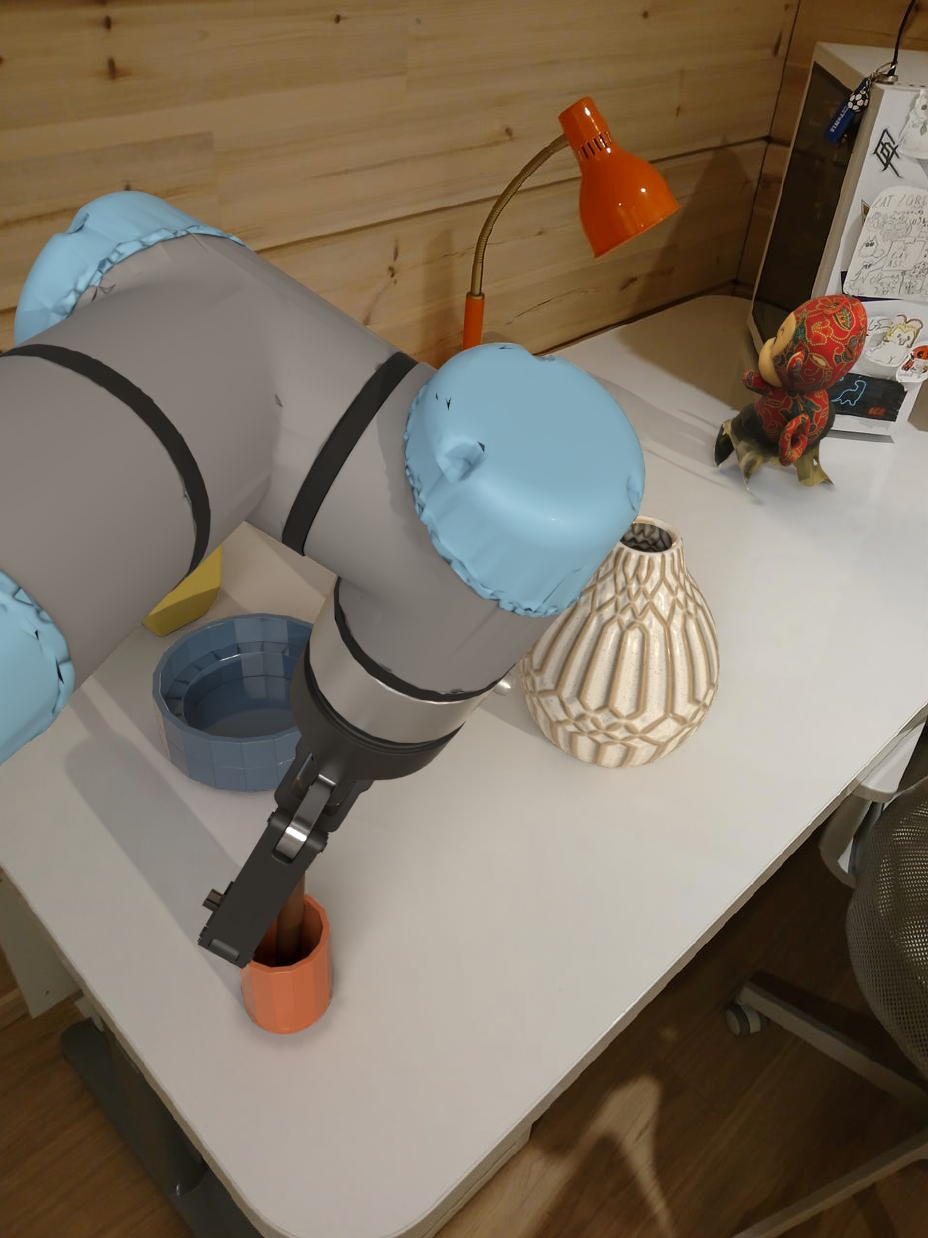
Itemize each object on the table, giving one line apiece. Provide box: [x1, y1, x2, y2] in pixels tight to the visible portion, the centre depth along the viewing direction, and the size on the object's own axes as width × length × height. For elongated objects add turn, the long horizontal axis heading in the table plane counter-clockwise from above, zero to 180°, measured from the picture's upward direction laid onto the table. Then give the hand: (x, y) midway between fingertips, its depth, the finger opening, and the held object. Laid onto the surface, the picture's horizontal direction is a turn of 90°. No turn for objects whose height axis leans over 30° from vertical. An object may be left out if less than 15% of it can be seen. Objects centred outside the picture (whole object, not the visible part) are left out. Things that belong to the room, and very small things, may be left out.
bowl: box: [151, 612, 314, 793], centre depth 78 cm, size 15×15×6 cm
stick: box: [275, 777, 310, 967], centre depth 58 cm, size 2×2×16 cm
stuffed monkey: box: [712, 293, 869, 498], centre depth 108 cm, size 15×17×25 cm
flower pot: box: [140, 542, 223, 637], centre depth 88 cm, size 9×9×9 cm
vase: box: [518, 514, 721, 769], centre depth 76 cm, size 16×16×20 cm
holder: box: [237, 893, 334, 1035], centre depth 60 cm, size 6×6×7 cm
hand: (289, 827), depth 57 cm, fingers open, 13 cm apart
